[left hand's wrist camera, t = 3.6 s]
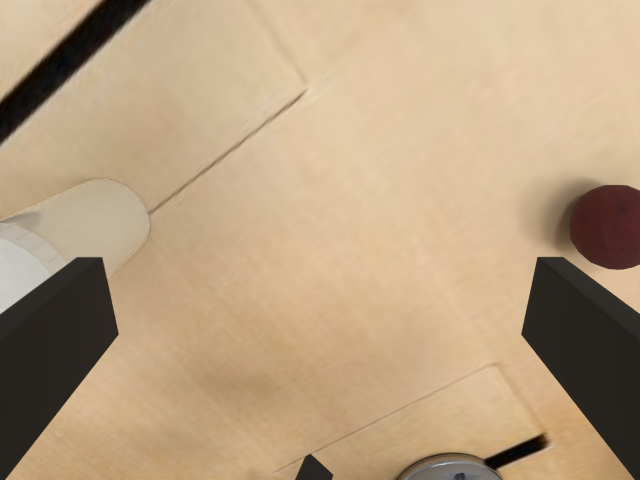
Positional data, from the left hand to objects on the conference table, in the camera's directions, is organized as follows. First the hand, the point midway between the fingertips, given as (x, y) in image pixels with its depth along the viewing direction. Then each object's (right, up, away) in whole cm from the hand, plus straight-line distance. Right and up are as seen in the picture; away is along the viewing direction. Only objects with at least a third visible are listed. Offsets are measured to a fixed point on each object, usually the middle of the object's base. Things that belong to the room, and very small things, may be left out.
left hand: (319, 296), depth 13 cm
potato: (+27, +4, +28) cm, 39 cm away
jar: (-21, +4, +29) cm, 36 cm away
